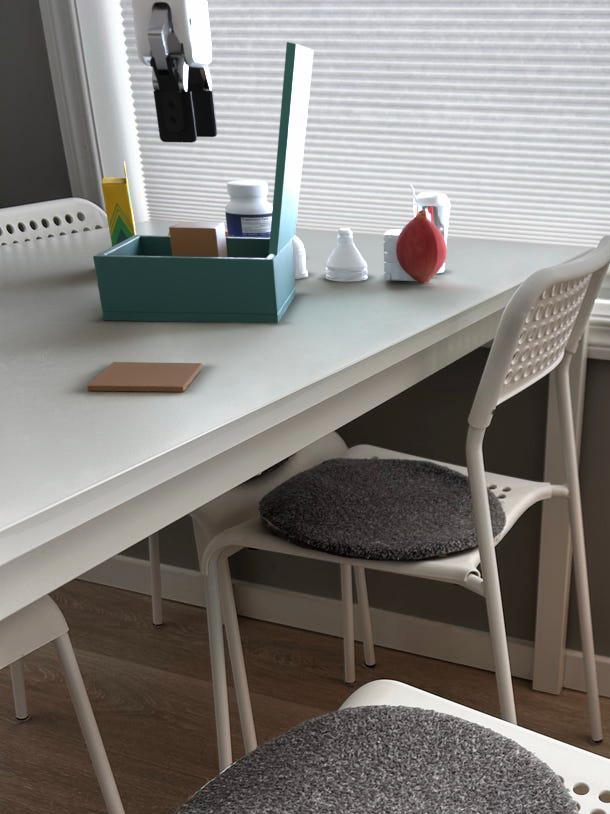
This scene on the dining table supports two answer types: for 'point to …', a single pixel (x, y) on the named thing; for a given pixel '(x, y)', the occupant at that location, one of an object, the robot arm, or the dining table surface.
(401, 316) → the dining table surface
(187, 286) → the box
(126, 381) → the mat
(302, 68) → the lunchbox lid
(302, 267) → the container set
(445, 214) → the milkshake
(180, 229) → the carton
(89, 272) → the dining table surface
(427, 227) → the onion
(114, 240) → the crayon box
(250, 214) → the pill bottle
